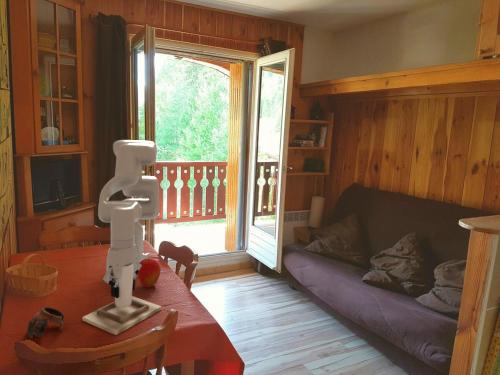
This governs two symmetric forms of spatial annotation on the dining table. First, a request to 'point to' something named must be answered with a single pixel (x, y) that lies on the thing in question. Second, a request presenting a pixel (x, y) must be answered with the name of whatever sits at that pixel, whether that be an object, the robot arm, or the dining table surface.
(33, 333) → the pottery mug
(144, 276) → the apple
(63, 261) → the dining table surface
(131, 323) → the locating board
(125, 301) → the drinking glass
